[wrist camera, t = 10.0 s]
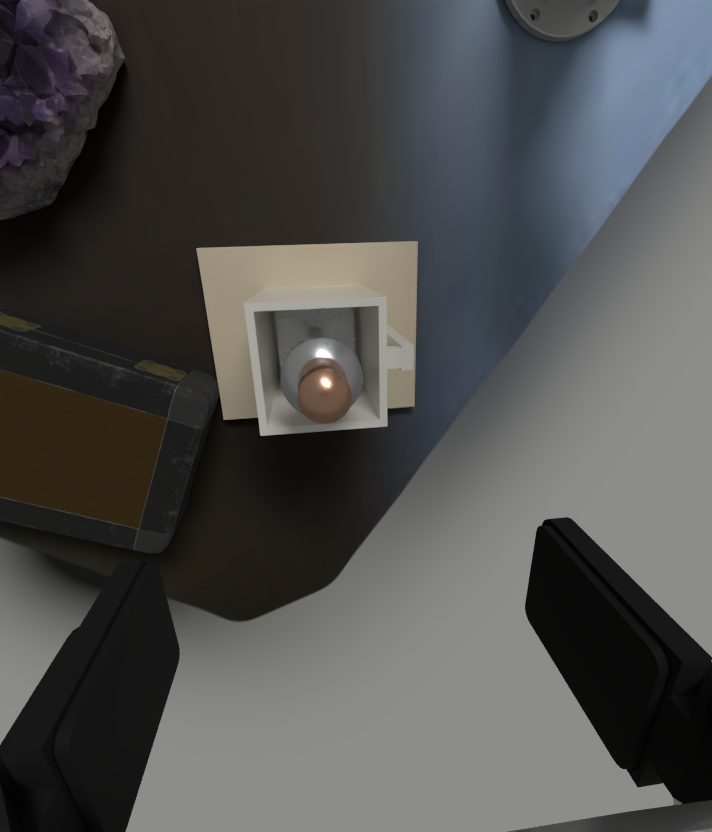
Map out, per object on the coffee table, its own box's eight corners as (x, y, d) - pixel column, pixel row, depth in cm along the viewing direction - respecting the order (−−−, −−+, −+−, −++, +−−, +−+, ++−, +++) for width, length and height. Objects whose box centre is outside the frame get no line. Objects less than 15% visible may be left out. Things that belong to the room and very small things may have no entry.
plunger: (352, 295, 42) (391, 326, 23) (355, 371, 45) (392, 454, 26) (273, 299, 42) (247, 333, 22) (281, 375, 45) (263, 464, 25)
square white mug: (414, 241, 43) (472, 233, 28) (412, 403, 50) (457, 464, 35) (199, 248, 41) (139, 242, 26) (225, 416, 48) (189, 487, 33)
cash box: (-44, 468, 47) (-108, 506, 39) (-27, 294, 41) (-99, 302, 34) (182, 523, 52) (162, 564, 45) (225, 377, 46) (211, 398, 39)
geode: (70, 261, 41) (-20, 256, 31) (-47, 189, 39) (-180, 161, 29) (155, 46, 35) (77, -39, 25) (23, -50, 33) (-114, -181, 24)
